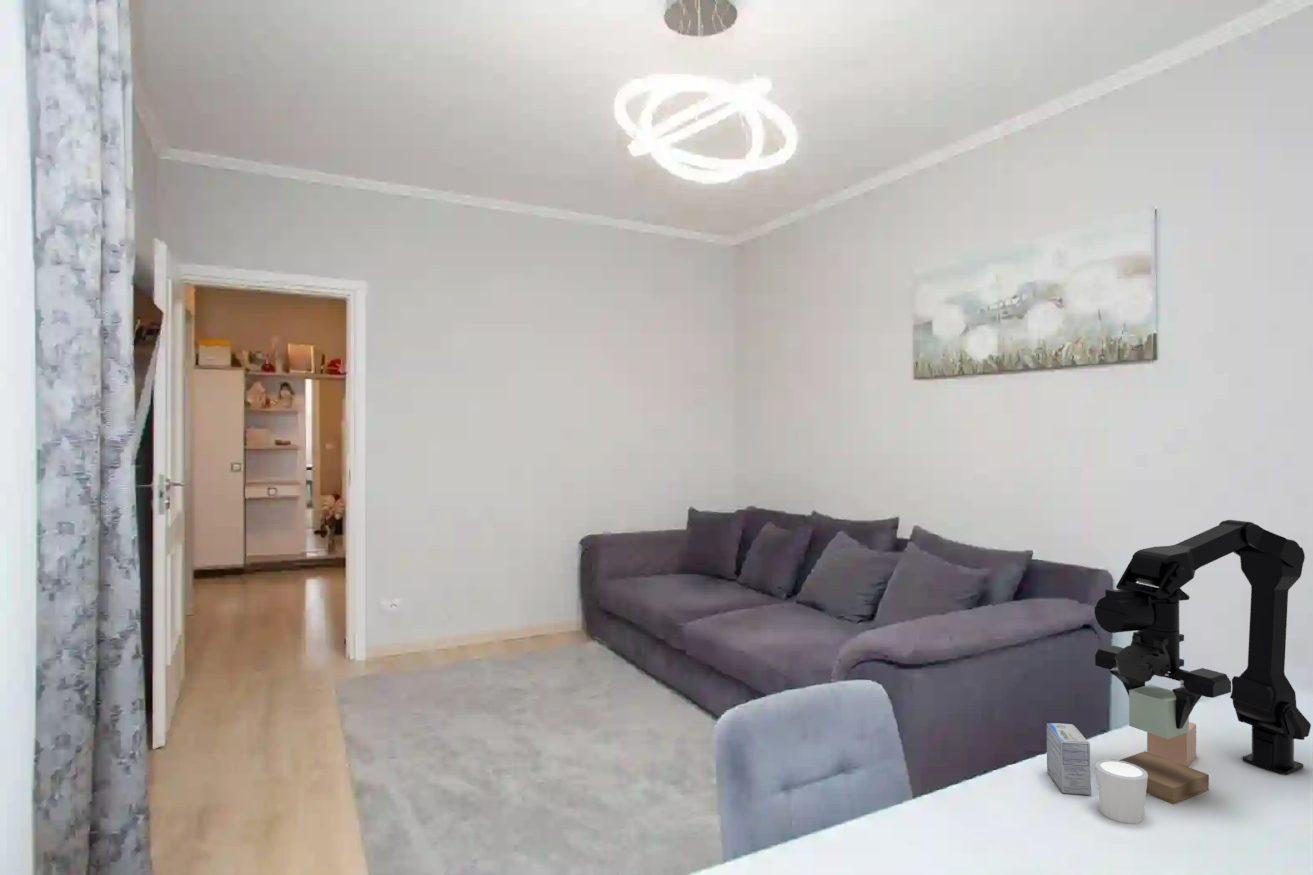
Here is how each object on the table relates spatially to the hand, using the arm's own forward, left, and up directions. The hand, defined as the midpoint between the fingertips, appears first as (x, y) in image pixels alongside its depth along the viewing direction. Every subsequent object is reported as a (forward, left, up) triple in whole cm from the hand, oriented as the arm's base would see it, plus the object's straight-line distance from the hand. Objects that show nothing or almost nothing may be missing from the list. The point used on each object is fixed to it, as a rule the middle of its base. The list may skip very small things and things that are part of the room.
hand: (1158, 721), depth 123 cm
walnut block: (0, 0, -10) cm, 10 cm away
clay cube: (-13, -5, -10) cm, 17 cm away
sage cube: (0, 0, -1) cm, 1 cm away
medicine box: (+13, -7, -11) cm, 18 cm away
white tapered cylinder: (+15, +3, -11) cm, 19 cm away
